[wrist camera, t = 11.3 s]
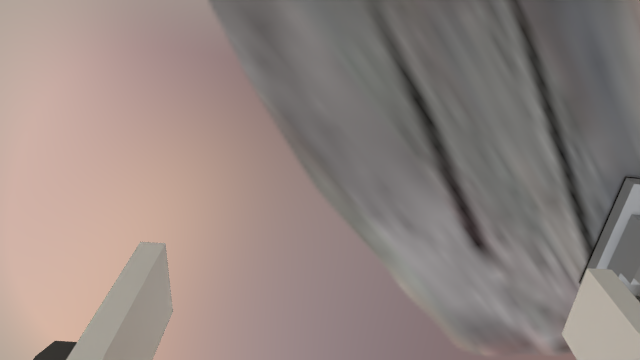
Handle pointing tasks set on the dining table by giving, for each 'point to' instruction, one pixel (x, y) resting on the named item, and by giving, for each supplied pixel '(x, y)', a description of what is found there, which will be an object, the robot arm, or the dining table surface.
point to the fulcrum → (622, 238)
